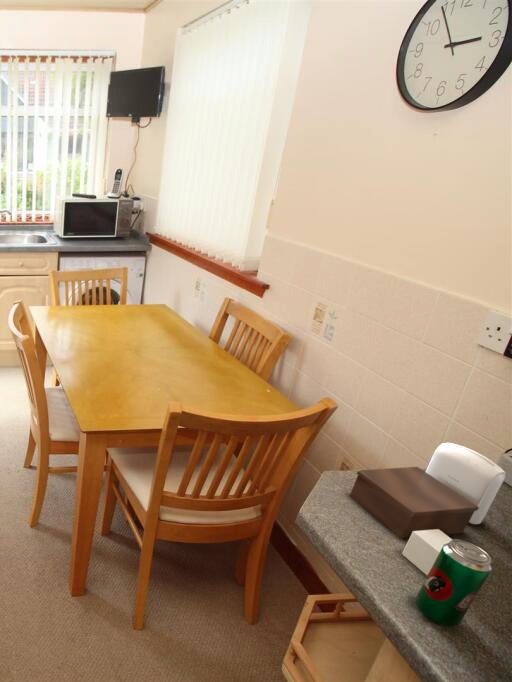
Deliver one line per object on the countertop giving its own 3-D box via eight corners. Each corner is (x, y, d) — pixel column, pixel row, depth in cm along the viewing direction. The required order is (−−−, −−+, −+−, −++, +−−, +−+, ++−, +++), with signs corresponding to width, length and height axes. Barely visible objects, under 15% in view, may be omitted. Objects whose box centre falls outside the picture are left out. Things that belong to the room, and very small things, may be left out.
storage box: (405, 491, 95) (417, 466, 93) (464, 533, 85) (479, 507, 82) (347, 495, 93) (357, 470, 91) (400, 539, 83) (413, 512, 80)
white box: (426, 551, 80) (438, 528, 78) (466, 584, 74) (480, 560, 73) (401, 553, 80) (412, 531, 78) (439, 587, 74) (453, 563, 72)
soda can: (454, 636, 66) (492, 572, 61) (409, 610, 70) (442, 548, 65) (461, 616, 69) (498, 554, 64) (418, 592, 73) (449, 531, 68)
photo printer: (411, 490, 96) (436, 438, 91) (427, 487, 97) (452, 435, 92) (469, 527, 86) (499, 471, 82) (486, 523, 87) (517, 468, 83)
